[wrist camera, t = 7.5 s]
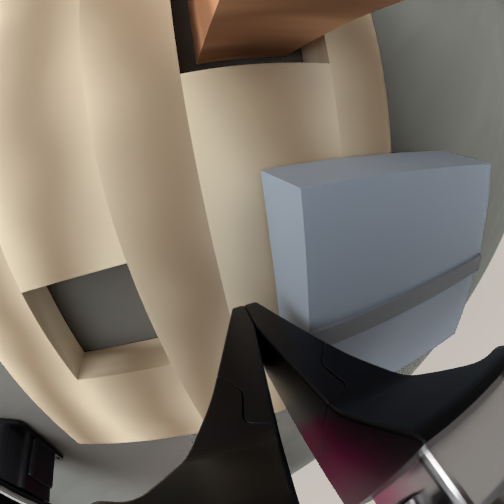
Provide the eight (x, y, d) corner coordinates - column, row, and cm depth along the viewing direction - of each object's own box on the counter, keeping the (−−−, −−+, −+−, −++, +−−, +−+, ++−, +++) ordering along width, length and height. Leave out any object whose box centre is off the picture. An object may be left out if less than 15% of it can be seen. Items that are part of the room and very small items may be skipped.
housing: (284, 365, 12) (310, 414, 10) (260, 170, 8) (303, 189, 6) (422, 305, 14) (456, 334, 11) (440, 150, 10) (493, 164, 7)
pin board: (82, 421, 14) (79, 443, 12) (-57, 70, 3) (-79, 68, 1) (353, 356, 17) (368, 374, 15) (325, -41, 7) (345, -57, 5)
